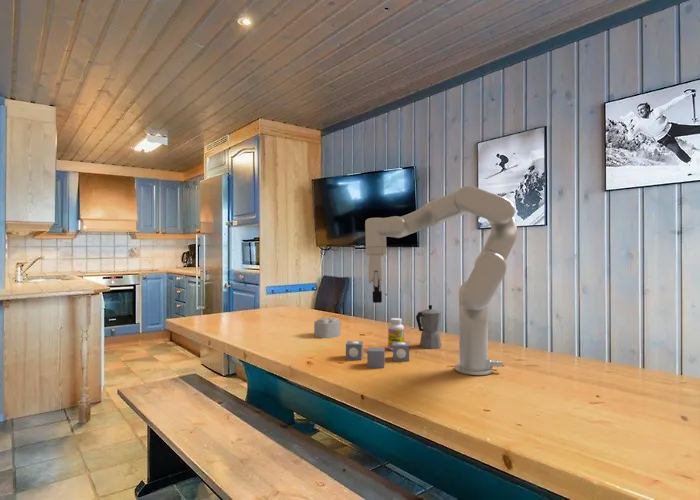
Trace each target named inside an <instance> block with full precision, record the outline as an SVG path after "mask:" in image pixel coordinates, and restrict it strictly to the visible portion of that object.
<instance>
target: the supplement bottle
mask: <svg viewBox="0 0 700 500" xmlns="http://www.w3.org/2000/svg"><path fill="white" fill-rule="evenodd" d="M402 323H403V319H402V318H401V317H400V318H399V317H391V318H390V324H389V325H388V328H387V329H388V330H387V331H388V334H387V336H388V337H387V338H388V341H387V342H388V343H387V344H388V346H387V347H388V350H390V351H393V342H405V326H404V325H403V324H402Z"/></svg>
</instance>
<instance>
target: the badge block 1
mask: <svg viewBox="0 0 700 500" xmlns="http://www.w3.org/2000/svg"><path fill="white" fill-rule="evenodd" d="M363 356H364V341H363V340H347V342H346V343H345V360H346V361H347V360H348V361H362V360H363V358H364V357H363Z"/></svg>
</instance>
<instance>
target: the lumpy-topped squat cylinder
mask: <svg viewBox="0 0 700 500" xmlns="http://www.w3.org/2000/svg"><path fill="white" fill-rule="evenodd" d="M341 323H342V322H341V319H338V318H337V317H332V316H331V317H328V318H327V317H326V316H325V317H321V318H319V319H317V320H315V321H314V323H313V324H314V325H313V326H314V327H313V328H314V329H313V330H314V331H313V333H314V334H313V336H315V337H314V338H318V337H319V339H322V338H328V339H334V337H335V338H338V337H340V335H342V333H341V331H342V328H341V326H342V324H341Z"/></svg>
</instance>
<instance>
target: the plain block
mask: <svg viewBox="0 0 700 500" xmlns="http://www.w3.org/2000/svg"><path fill="white" fill-rule="evenodd" d="M385 348H386V347H377V346H376V347H373V346H372V347H371V346H369V347H368V348H367V352H366V353H367V356H366V358H367V361H366V362H367V363H366V364H367V365H366V366H367V368H368V369H376V368H377V369H384V368H385V363H386V356H385V355H386V353H385V352H386V350H385Z"/></svg>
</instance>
